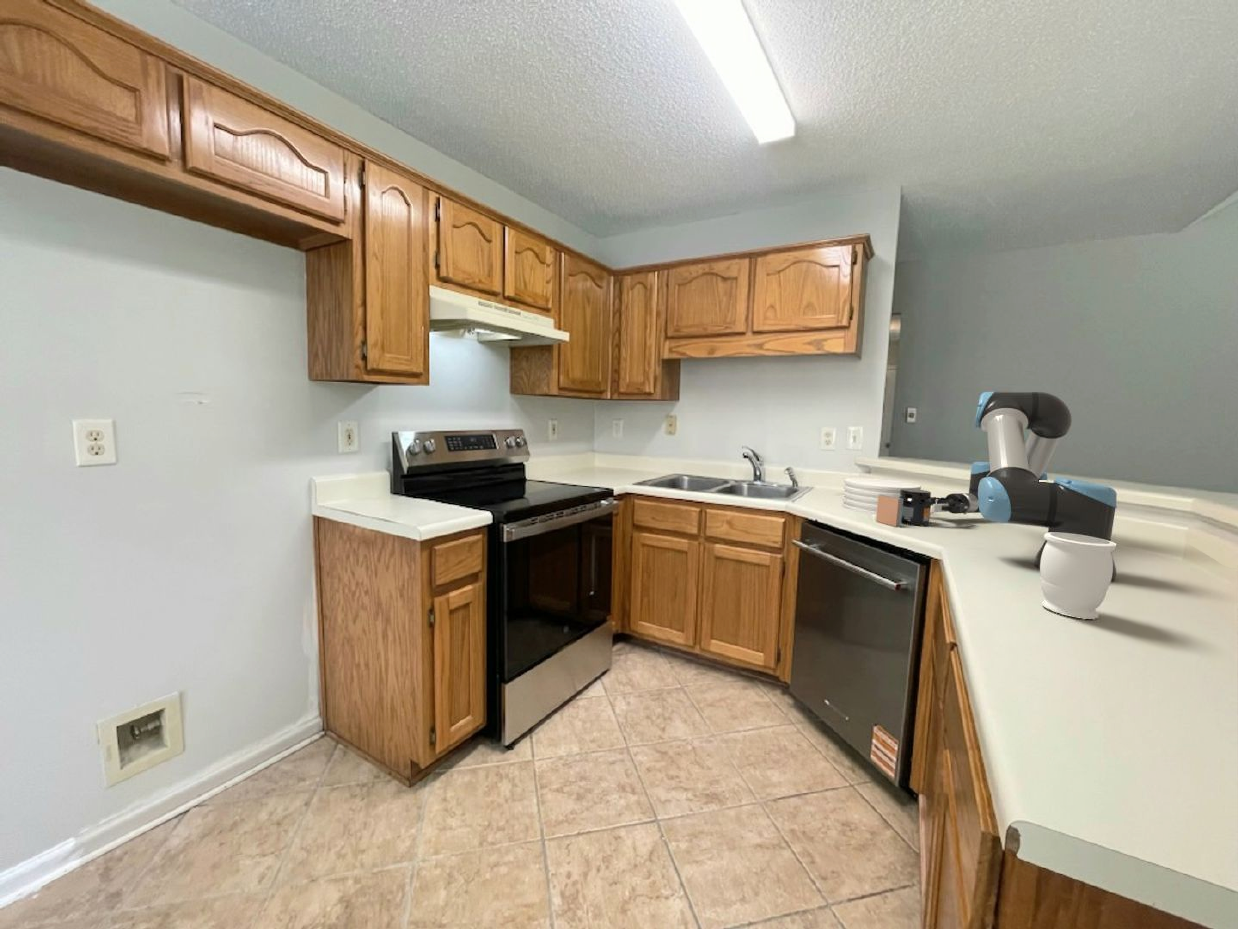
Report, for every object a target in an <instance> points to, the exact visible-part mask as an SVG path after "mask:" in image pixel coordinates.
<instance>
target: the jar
mask: <svg viewBox="0 0 1238 929" xmlns="http://www.w3.org/2000/svg"><path fill="white" fill-rule="evenodd" d="M1043 538H1044V541H1045V540H1047V543H1046V545H1045V547H1044V549H1043V552H1042V556H1041V562H1040V568H1039V572H1040V583H1041V584H1040V585H1041V586H1040V587H1041V591H1042V594H1043V597H1045V598H1044V600H1043V601H1042V602H1041V606H1042V605H1043V606H1044V607H1046V608H1049V609H1051V610H1053V611H1056V612H1058V613H1064V614H1067V615H1071V616H1074V617H1080V618H1086V619H1093V620H1096V619H1095V618H1097V619H1098V618H1099V614H1098V612H1097V609H1098V608H1099V607H1100V606H1101V605H1102V603H1103V602H1104V600H1105V597H1106V595H1107V592H1108V590H1109V587H1110V585H1111V582H1112V581H1111V579H1112V573H1113V560H1114V559H1113V560H1112V556H1113V554H1112V555H1111V553H1112V551H1115V550H1116V548H1117V543H1115V542H1113V541H1112V540H1111V541H1108V540H1104V539H1100V538H1096V537H1091V536H1085V535H1079V534H1071V533H1058V532H1049V533H1048V532H1045V533H1044V535H1043ZM1043 606H1042V607H1043ZM1044 607H1043V608H1044Z"/></svg>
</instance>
